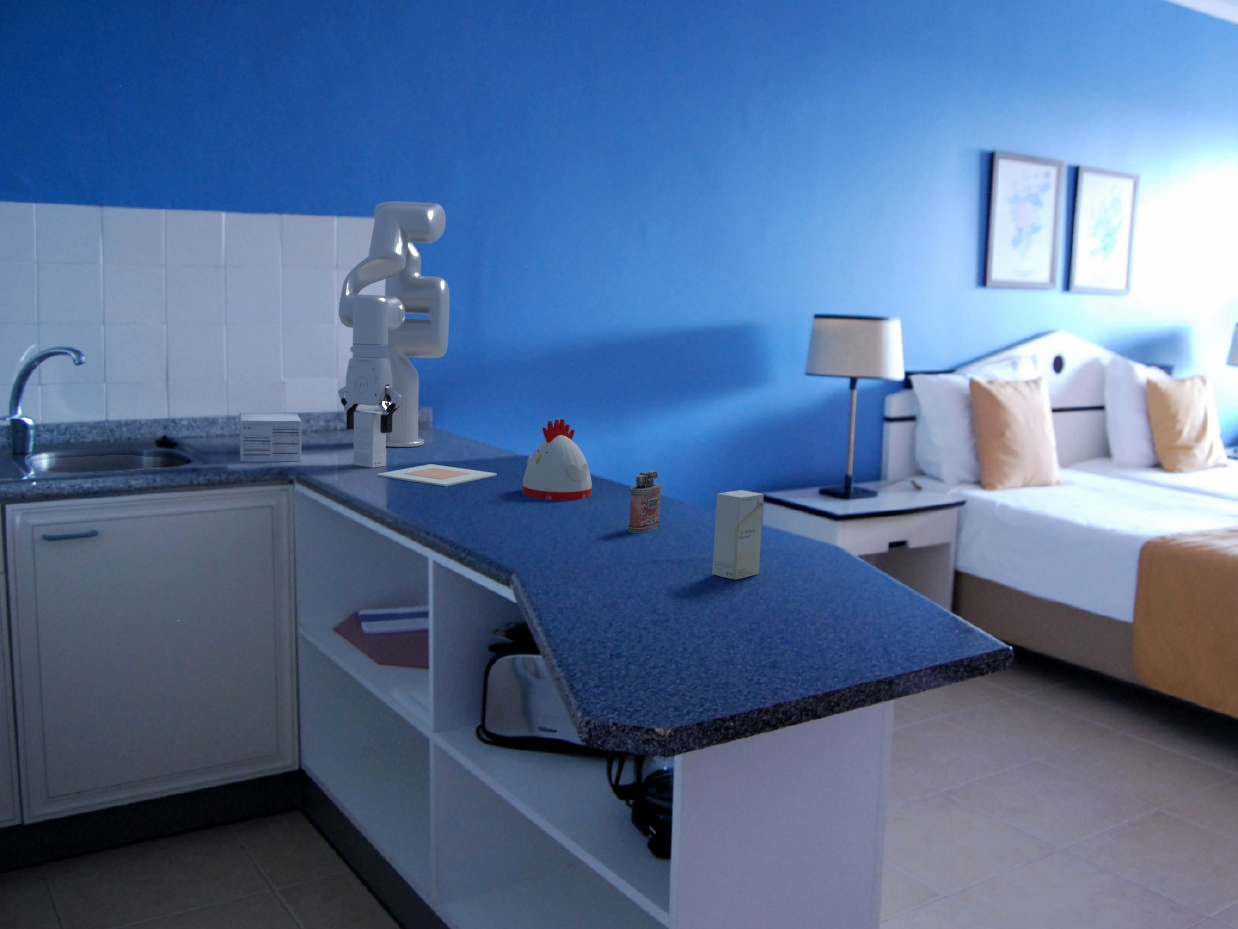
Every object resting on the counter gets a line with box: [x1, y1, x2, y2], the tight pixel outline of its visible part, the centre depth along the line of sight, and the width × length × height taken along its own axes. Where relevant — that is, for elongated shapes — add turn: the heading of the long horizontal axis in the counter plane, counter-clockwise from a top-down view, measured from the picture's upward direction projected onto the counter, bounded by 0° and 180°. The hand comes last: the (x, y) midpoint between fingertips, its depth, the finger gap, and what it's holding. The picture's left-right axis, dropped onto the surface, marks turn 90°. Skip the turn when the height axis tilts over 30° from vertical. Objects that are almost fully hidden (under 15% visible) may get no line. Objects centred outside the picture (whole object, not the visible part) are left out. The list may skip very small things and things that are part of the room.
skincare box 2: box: [711, 489, 765, 580], centre depth 156 cm, size 6×4×12 cm
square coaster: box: [376, 463, 498, 487], centre depth 229 cm, size 18×18×1 cm
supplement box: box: [238, 412, 302, 463], centre depth 244 cm, size 17×13×9 cm
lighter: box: [627, 470, 663, 534], centre depth 185 cm, size 8×3×10 cm, turn 148°
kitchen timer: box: [521, 418, 593, 501], centre depth 214 cm, size 14×14×15 cm
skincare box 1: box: [353, 410, 387, 469], centre depth 237 cm, size 6×4×12 cm
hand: (369, 430), depth 236 cm, fingers open, 9 cm apart
